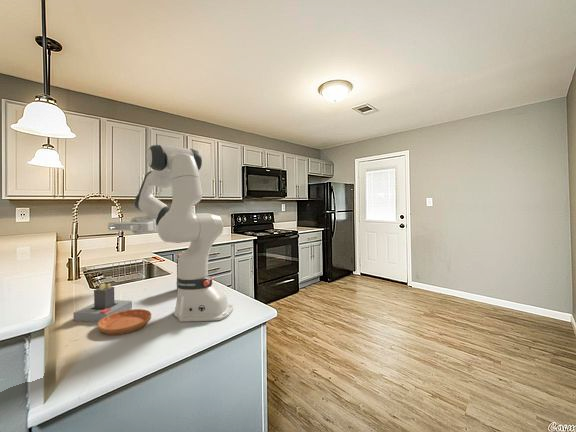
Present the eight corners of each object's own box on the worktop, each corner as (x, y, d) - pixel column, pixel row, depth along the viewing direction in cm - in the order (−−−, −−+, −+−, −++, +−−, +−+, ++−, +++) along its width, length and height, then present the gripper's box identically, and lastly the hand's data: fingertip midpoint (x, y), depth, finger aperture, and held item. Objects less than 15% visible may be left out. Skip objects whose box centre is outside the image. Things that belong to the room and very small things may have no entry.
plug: (114, 311, 102) (114, 282, 101) (105, 316, 97) (104, 285, 97) (104, 311, 102) (103, 281, 102) (94, 316, 98) (93, 285, 97)
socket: (132, 308, 105) (131, 299, 105) (106, 322, 93) (106, 312, 92) (102, 306, 107) (102, 297, 107) (73, 320, 94) (73, 310, 94)
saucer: (157, 327, 90) (157, 318, 90) (101, 343, 79) (101, 333, 79) (144, 312, 102) (144, 305, 101) (94, 325, 91) (94, 317, 91)
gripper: (120, 218, 131) (97, 220, 117) (158, 219, 129) (140, 220, 115) (120, 231, 131) (98, 234, 117) (158, 231, 129) (140, 235, 115)
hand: (119, 227), depth 116 cm, fingers open, 8 cm apart
